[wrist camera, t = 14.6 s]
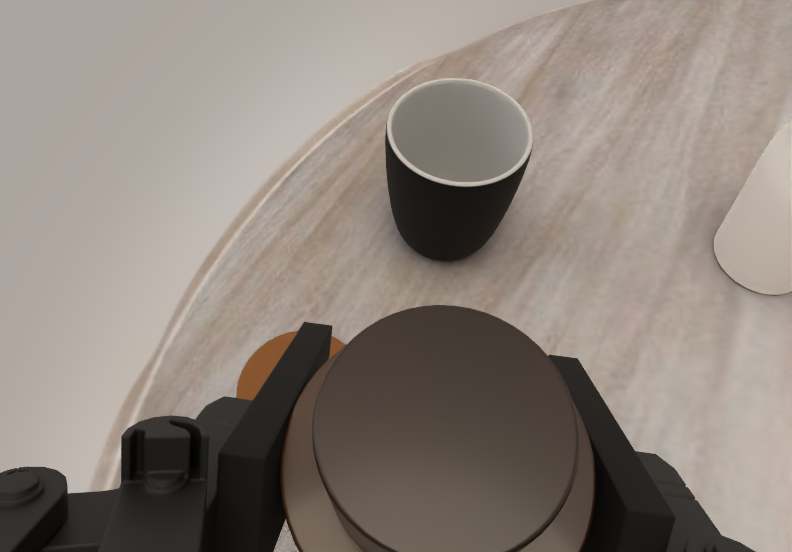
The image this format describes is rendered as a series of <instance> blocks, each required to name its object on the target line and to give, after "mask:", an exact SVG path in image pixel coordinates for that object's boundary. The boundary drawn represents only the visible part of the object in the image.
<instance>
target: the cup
mask: <svg viewBox="0 0 792 552" xmlns="http://www.w3.org/2000/svg"><path fill="white" fill-rule="evenodd" d="M714 252H715V256H716V258H717V260H718V262H719V264H720V265H721V267H722V268H723V270H724V271H725V272H726V273H727V274H728V275H729V276H730V277H731V278H732V279H733V280H735V281H736V282H738V283H739V284H741V285H742V286H744V287H746V288H748V289H750V290H753V291H755V292H759V293H763V294H769V295H780V294H785V293H789V292H791V291H792V119H791V120H790V121H789V122H788V123H787V124H786V125H785V126H784V127H783V128H782V129H781V130H780V131H779V132H778V133H777V134H776V135H775V136H774V137H773V138H772V139H771V141H770V142H769V144H768V145H767V146H766V148H765V150H764V152H763V153H762V155H761V157H760V158H759V160H758V162H757V163H756V165H755V167H754V169H753V170H752V172H751V174H750V176H749V177H748V179H747V181H746V183H745V184H744V186H743V188H742V189H741V191H740V193H739V195H738V196H737V198H736V200H735V202H734V203H733V205H732V207H731V208H730V210H729V212H728V214H727V215H726V217H725V219H724V221H723V222H722V224H721V226H720V227H719V229H718V231H717V233H716V235H715V238H714Z"/></svg>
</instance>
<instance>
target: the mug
mask: <svg viewBox="0 0 792 552" xmlns="http://www.w3.org/2000/svg"><path fill="white" fill-rule="evenodd" d="M385 147H386V170H387V181H388V190H389V196H390V202H391V207H392V212H393V216H394V219H395V222H396V225H397V228H398V230H399V232H400V234H401V236H402V237H403V238H404V240H405V241H406V242H407V243H408V245H409V246H410V247H412V248H413V249H414V250H415V251H417V252H418V253H420V254H422V255H423V256H426V257H428V258H431V259H436V260H444V261H448V260H457V259H461V258H464V257H466V256H468V255H470V254H472V253H474V252H475V251H477V250H478V249H479V248H481V247H482V246H483V245H484V244H485V243H486V242H487V241H488V239H489V238H490V237H491V236H492V234H493V233H494V231H495V230H496V228H497V227H498V225H499V224H500V222H501V220H502V219H503V217H504V215H505V213H506V211H507V210H508V208H509V206H510V204H511V201H512V199H513V197H514V195H515V193H516V191H517V189H518V187H519V184H520V182H521V180H522V177H523V175H524V172H525V170H526V167H527V164H528V161H529V158H530V155H531V151H532V147H533V129H532V125H531V122H530V120H529V118H528V116H527V114H526V113H525V111H524V110H523V108H522V107H521V106H520V105H519V104H518V103H517V102H516V101H515V100H514V99H513V98H512V97H510V96H509V95H508V94H506V93H505V92H503V91H501V90H500V89H498V88H496V87H494V86H491V85H489V84H486V83H483V82H479V81H475V80H470V79H462V78H445V79H437V80H433V81H429V82H426V83H423V84H420V85H418V86H416V87H414V88H412V89H411V90H409V91H407V92H406V93H405V94H403V95H402V96H401V97H400V98H399V99H398V100H397V101H396V103H395V104H394V106H393V107H392V109H391V111H390V113H389V116H388V120H387V125H386V138H385Z"/></svg>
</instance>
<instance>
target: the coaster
mask: <svg viewBox="0 0 792 552" xmlns="http://www.w3.org/2000/svg"><path fill="white" fill-rule="evenodd" d="M297 332H298V331H296V332H290V333H287V334H283V335H281V336H278V337H276V338H274V339H272V340H270V341H268V342H267V343H265V344H264V345H263V346H261V347H260V348H259V349H258V350H257V351H256V352H255V353H254V354H253V355H252V356H251V358H250V359H249V360H248V362H247V363H246V365H245V367H244V369H243V371H242V373H241V376H240V379H239V382H238V387H237V398H239V399H246V400H253V399H254V398H255V396H256V395H257V393H258V392H259V390H260V389H261V387H262V386H263V384H264V383H265V381H266V380H267V378H268V377H269V375H270V374H271V372H272V370H273V369H274V367H275V366H276V364H277V363H278V361H279V360H280V358H281V357H282V355H283V354H284V352H285V351H286V349H287V348H288V346H289V345H290V343H291V342H292V340H293V339H294V337H295V335H296V334H297ZM344 346H346V345H345V344H343V343H342V342H341V341H339V340H337V339H336V338H334V337H332V336H331V345H330V355H329V359H330V358H331V357H332V356H333V355H334V354H335V353H337V352H338V351H339V350H340V349H342V348H343V347H344Z"/></svg>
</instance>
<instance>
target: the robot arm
mask: <svg viewBox="0 0 792 552" xmlns="http://www.w3.org/2000/svg"><path fill="white" fill-rule="evenodd" d="M331 335H332V326H330V325H323V324H315V323H308V322H304V323H303V325H302V326H301V328H300V329H299V331H298V332H297V334H296V335H295V337H294V339H293V340H292V342H291V343H290V345H289V346H288V348H287V349H286V351H285V352H284V354H283V355H282V357H281V358H280V360H279V361H278V363H277V364H276V366H275V367H274V369H273V370H272V372H271V374H270V375H269V377H268V378H267V380H266V381H265V383H264V384H263V386H262V387H261V389H260V390H259V392H258V393H257V395H256V396H255V398H254V399H253V400H246V399H239V398H232V397H225V396H224V397H222V398H220V399H218V400H216V401H214V402H213V403H211V404H209V405H207V406H206V407H205V408H204V409H203V410H202V412H201V413H200V414H199V415H198V417H197V418H196V420H194V419H191V418H188V417H181V416H163V417H154V418H151V419H147V420H144V421H140V422H138V423H137V424H135V425H133V426H131V427H130V428H128V429H127V430H126V432H125V433H124V434H123V435H122V444H121V485H120V488H118V489H114V490H108V491H100V492H85V493H70V494H68V493H67V481H66V477H65V476H64V475H63V474H61V473H60V472H59V471H57V470H53V469H50V468H46V467H20V468H18V469H17V468H15V469H11V470H7V471H4V472H2V473H0V552H273V551H274V548H275V545H276V543H277V540H278V537H279V535H280V532H281V530H282V527H283V524H284V522H285V519H286V516H285V512H284V508H283V504H282V496H281V487H280V458H281V452H282V445H283V440H284V436H285V432H286V428H287V425H288V421H289V419H290V416H291V414H292V412H293V409H294V407H295V405H296V402H297V400H298V399H299V397H300V395H301V394H302V392H303V390H304V388H305V387H306V385H307V384H308V382H309V381H310V380H311V379H312V377H313V376H314V375H315V373H316V372H317V371H318V370H319V369H320V368H321V367H322V366H323V365H324V364H325V363H326V362H327V361H328V360H329V355H330V345H331ZM548 357H549V358H550V359H551V361H552V362H553V364H554V365H555V367H556V368H557V369H558V371H559V372H560V374H561V376H562V378H563V380H564V382H565V384H566V385H567V387H568V390H569V392H570V395H571V398H572V400H573V402H574V404H575V406H576V408H577V410H578V412H579V414H580V415H581V418H582V420H583V423H584V426H585V428H586V431H587V433H588V436H589V440H590V444H591V448H592V452H593V457H594V465H595V473H596V500H595V507H594V514H593V520H592V524H591V527H590V531H589V534H588V538H587V541H586V543H585V546H584V548H583V550H582V552H755V551H753V550H752V549H750V548H748V547H747V546H745V545H743V544H742V543H740V542H737V541H734V540H732V539H729V538H727V537H724V536H722V535H721V534H720V532H719V531H718V530H717V528H716V527H715V525H714V524H713V522H712V521H711V520H710V518H709V517H708V515H707V514H706V513H705V511H704V510H703V508H702V507H701V505H700V504H699V503H698V501H696V500H695V497H694V495H693V494H692V493H691V491H690V490H689V488H688V487H686V484H685V483H684V481H683V480H682V478H681V477H680V476H679V474H678V473H677V471H676V470H675V469H674V468H673V467H672V466H670V465H669V464H668V463H667V462H665V461H664V460H663V459H661V458H660V457H659V456H657V455H656V454H651V453H644V452H637V451H634V449H633V447H632V446H631V444H630V442H629V441H628V439H627V438H626V436H625V434H624V433H623V431H622V430H621V428H620V426H619V425H618V423H617V421H616V420H615V418H614V417H613V415H612V413H611V412H610V410H609V409H608V407H607V405H606V404H605V402H604V400H603V399H602V397H601V396H600V394H599V392H598V391H597V389H596V387H595V386H594V384H593V383H592V381H591V379H590V378H589V376H588V375H587V373H586V371H585V370H584V368H583V366H582V365H581V363H580V362H579V360H578V359H577V358H570V357H562V356H555V355H549V356H548Z"/></svg>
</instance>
